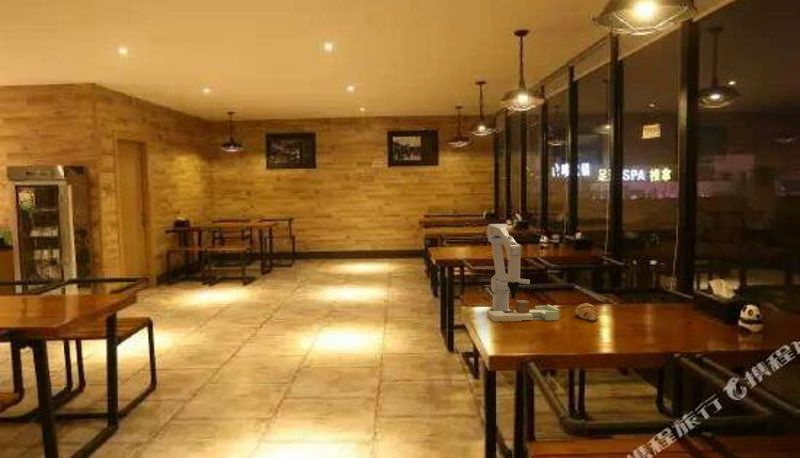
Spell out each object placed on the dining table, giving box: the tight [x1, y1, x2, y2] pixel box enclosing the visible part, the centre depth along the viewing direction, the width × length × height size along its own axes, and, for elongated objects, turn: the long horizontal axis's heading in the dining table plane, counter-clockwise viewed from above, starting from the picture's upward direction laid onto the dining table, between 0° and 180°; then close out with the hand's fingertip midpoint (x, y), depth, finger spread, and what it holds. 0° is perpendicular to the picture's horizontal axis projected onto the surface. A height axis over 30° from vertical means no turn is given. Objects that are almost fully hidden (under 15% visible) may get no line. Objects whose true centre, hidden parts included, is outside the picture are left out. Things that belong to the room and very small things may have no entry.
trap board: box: [486, 304, 560, 323], centre depth 279 cm, size 14×31×5 cm, turn 98°
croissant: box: [575, 302, 599, 321], centre depth 281 cm, size 21×10×8 cm, turn 0°
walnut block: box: [515, 299, 530, 313], centre depth 281 cm, size 5×5×5 cm
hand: (513, 298), depth 279 cm, fingers closed
